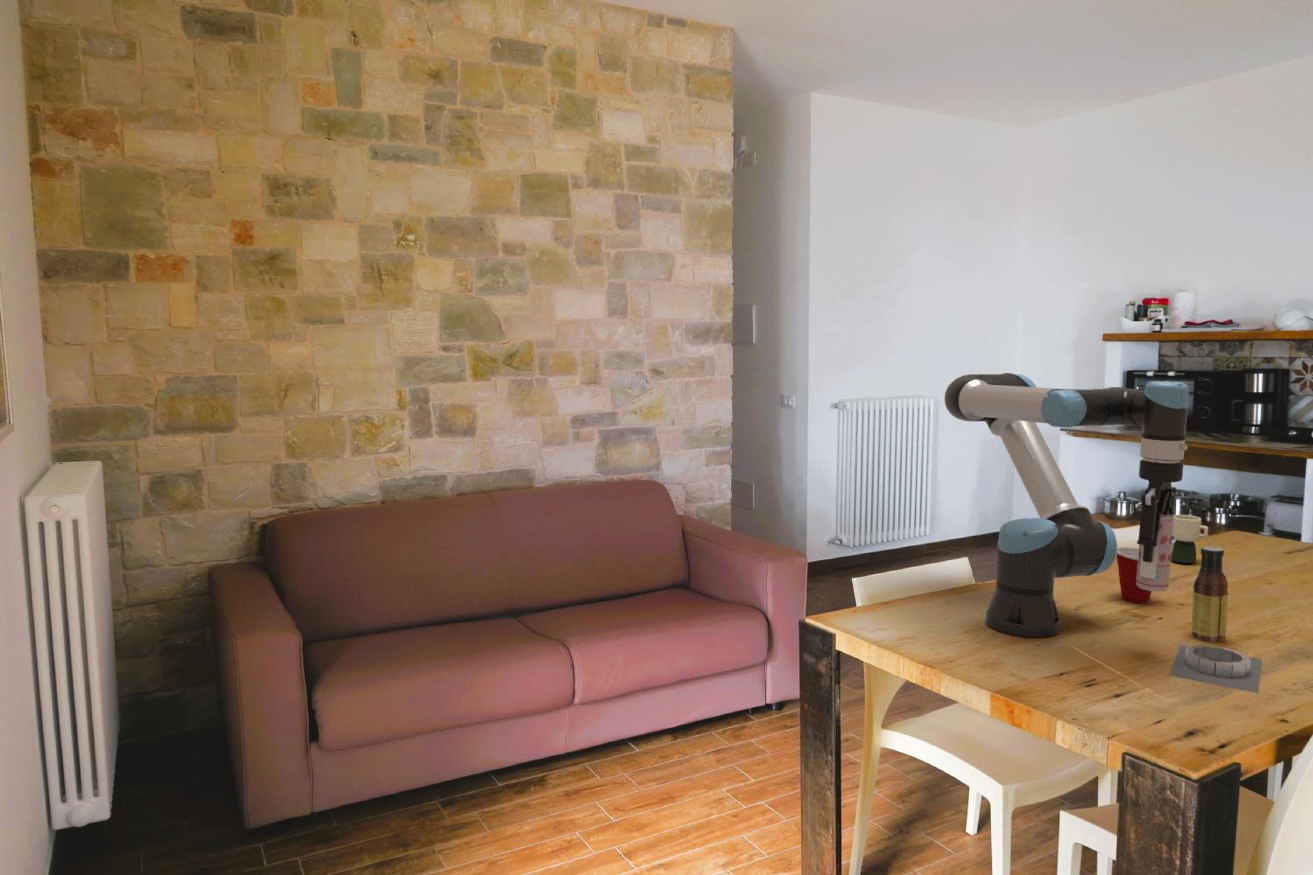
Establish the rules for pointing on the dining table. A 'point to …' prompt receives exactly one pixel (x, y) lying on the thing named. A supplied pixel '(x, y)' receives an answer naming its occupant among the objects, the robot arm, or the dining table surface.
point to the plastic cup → (1130, 576)
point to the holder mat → (1240, 683)
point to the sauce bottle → (1210, 597)
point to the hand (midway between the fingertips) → (1152, 573)
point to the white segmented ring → (1204, 661)
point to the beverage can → (1159, 558)
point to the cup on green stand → (1186, 537)
